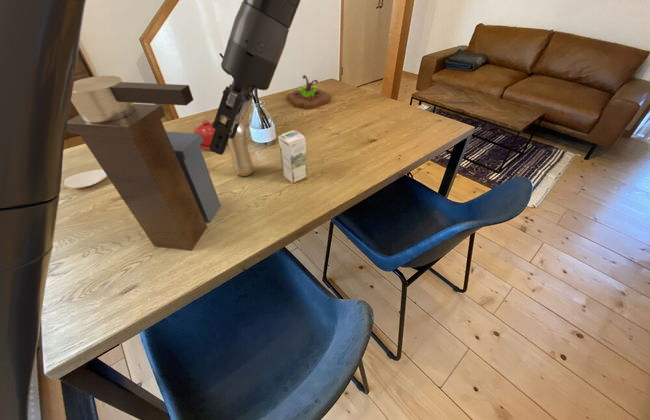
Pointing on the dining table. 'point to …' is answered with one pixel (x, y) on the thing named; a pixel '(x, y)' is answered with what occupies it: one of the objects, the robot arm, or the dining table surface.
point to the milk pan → (122, 97)
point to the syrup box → (293, 156)
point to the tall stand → (146, 174)
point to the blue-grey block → (196, 171)
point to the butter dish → (205, 133)
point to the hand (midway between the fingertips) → (222, 143)
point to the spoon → (85, 179)
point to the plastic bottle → (240, 153)
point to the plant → (308, 96)
